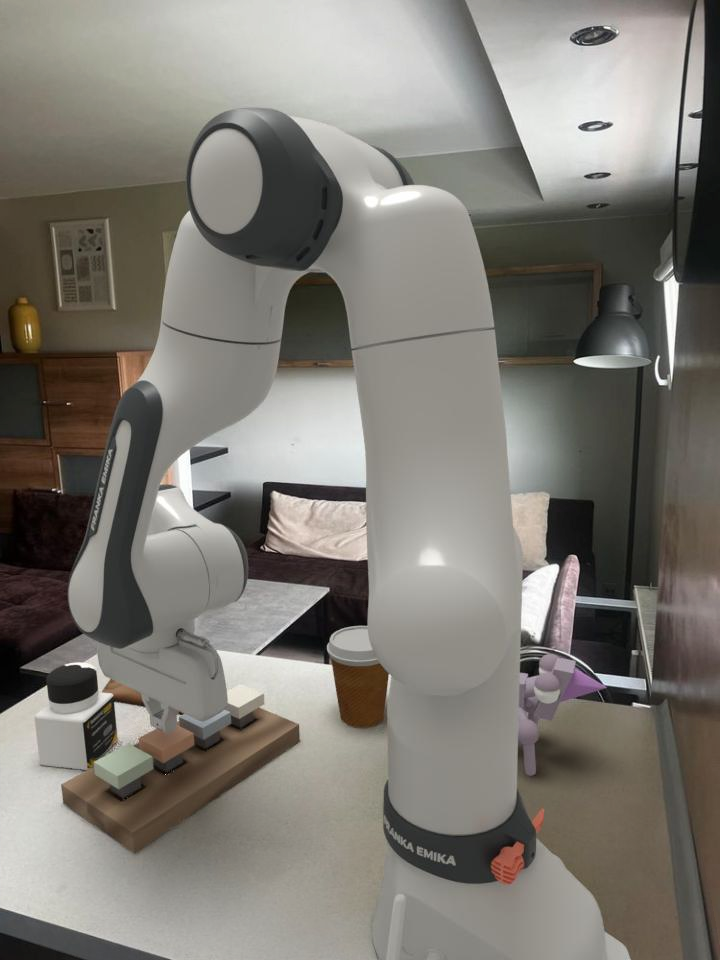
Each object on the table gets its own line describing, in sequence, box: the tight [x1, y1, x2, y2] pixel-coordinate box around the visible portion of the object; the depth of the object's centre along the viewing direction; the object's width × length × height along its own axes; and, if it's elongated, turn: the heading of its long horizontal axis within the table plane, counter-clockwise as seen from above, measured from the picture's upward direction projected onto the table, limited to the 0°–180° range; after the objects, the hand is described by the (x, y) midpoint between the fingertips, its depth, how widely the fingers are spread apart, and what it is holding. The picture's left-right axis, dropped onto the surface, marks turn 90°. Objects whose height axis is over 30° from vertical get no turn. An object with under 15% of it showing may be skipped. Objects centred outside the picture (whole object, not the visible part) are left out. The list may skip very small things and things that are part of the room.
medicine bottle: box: [34, 661, 119, 771], centre depth 91 cm, size 7×7×12 cm
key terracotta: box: [138, 725, 194, 772], centre depth 85 cm, size 5×5×4 cm
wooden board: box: [60, 707, 301, 854], centre depth 88 cm, size 14×26×2 cm, turn 143°
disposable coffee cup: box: [326, 625, 390, 728], centre depth 99 cm, size 10×10×12 cm
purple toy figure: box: [518, 653, 608, 777], centre depth 89 cm, size 20×11×14 cm, turn 68°
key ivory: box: [224, 683, 265, 728], centre depth 94 cm, size 5×5×4 cm
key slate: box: [178, 710, 231, 749], centre depth 89 cm, size 5×5×4 cm
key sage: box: [93, 743, 153, 798], centre depth 80 cm, size 5×5×4 cm
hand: (164, 728), depth 84 cm, fingers closed
